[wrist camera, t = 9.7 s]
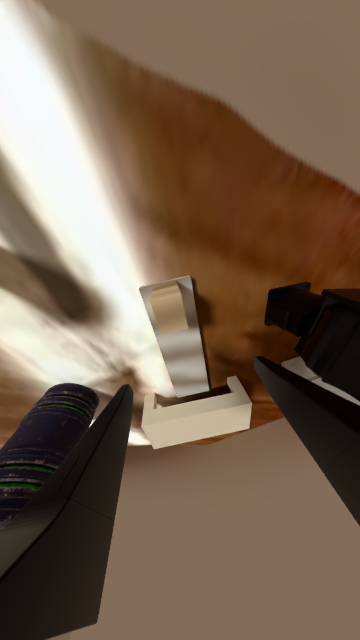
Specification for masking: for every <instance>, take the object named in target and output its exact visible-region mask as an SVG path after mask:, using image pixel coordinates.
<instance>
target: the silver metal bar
mask: <svg viewBox="0 0 360 640" xmlns="http://www.w3.org/2000/svg"><path fill="white" fill-rule="evenodd" d="M139 291H140V293H141V296H142V299H143V302H144V305H145V308H146V310H147V313H148V316H149V319H150V322H151V325H152V327H153V330H154V333H155V336H156V339H157V342H158V344H159V347H160V350H161V353H162V356H163V359H164V361H165V364H166V367H167V370H168V373H169V376H170V378H171V381H172V384H173V387H174V390H175V393H176V395H177V398H180V397H184V396H188V395H192V394H197V393H201V392H205V391H209V385H208V379H207V373H206V367H205V361H204V355H203V349H202V343H201V337H200V331H199V325H198V319H197V313H196V307H195V301H194V295H193V289H192V283H191V277H190V276H189V275H188V276H184V277H180V278H176V279H171V280H167V281H163V282H158V283H154V284H150V285H146V286H141V287H140V288H139Z"/></svg>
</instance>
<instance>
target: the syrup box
mask: <svg viewBox="0 0 360 640" xmlns="http://www.w3.org/2000/svg"><path fill="white" fill-rule="evenodd" d="M281 366H282V367H284V368H286V369H288V370H290V371H292V372H294V373H296V374H298V375H300V376H302V377H303V378H305V379H307V380H309V381H311V382H313V383H315V384H317V385H319V386H321V387H323V388H324V389H327V390H329V391H331V392H333V393H335V394H337V395H339V396H341V397H343V398H345V399H347V400H349V401H351V402H354V403H356V404H358V405H360V402H359V401H358V400H356V399H355V398H353V397H352V396H350V395H349V394H347V393H345V392H343V391H341V390H340V389H338V388H336V387H334V386H331V385H329V384H327V383H324V382H322V381H321V378H320V377H318V376H317V375H315V374H314V373H313V372H312V371H311V370H310V369H309V368H308V367H307V366H306V365H305V362H304V361H303V359H302V358H301V357H300V356H299V357H296V358H293V359H290V360H287V361H284V362H281Z"/></svg>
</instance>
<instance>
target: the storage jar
mask: <svg viewBox="0 0 360 640" xmlns="http://www.w3.org/2000/svg"><path fill="white" fill-rule="evenodd" d="M98 403H99V398H98V396H97V394H96V393H95V392H94V391H92V390H91V389H89V388H87V387H85V386H82V385H79V384H73V383H63V384H58V385H55V386H53V387H51V388H50V389H48V390H47V392H46V393H45V394H44V396H43V397H42V398H41V399H40V400H39V401H38V402H37V403H36V404H35V405H34V406H33V407H32V409H31V410H30V411H29V413H28V414H27V415H25V416H24V418H23V420H22V421H21V422H20V425H19V428H18V429H17V430H16V432H15V433H14V434H13V435H12V436H11V438H10V439H9V440H8V441H7V442H6V444H5V445H4V446H3V447H2V449H1V450H0V531H1V530H2V529H3V528H4V527H5V526H6V525H7V524H8V523H9V522H11V521H12V520H13V518H14V517H15V516H16V515H17V514H18V513H19V512H20V511H21V510H22V509H23V508H24V506H25V505H26V504H27V503H28V502H29V501H30V500H31V498H32V497H33V496H34V495H35V494H36V493H37V491H38V490H39V489H40V488H41V487H42V486H43V484H44V483H45V482H46V481H47V480H48V479H49V477H50V476H51V475H52V474H53V473H54V472H55V470H56V469H57V468H58V467H59V466H60V464H61V463H62V462H63V461H64V460H65V458H66V457H67V456H68V455H69V453H70V452H71V451H72V450H73V448H74V447H75V446H76V444H77V443H78V442H79V441H80V439H81V438H82V437H83V435H84V434H85V433H86V432H87V430H88V429H89V426H90V424H91V422H92V419H93V417H94V413H95V409H96V408H97V406H98Z"/></svg>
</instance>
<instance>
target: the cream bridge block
mask: <svg viewBox="0 0 360 640" xmlns="http://www.w3.org/2000/svg"><path fill="white" fill-rule="evenodd" d="M227 384H228V386H229V388H230V390H231V392H232V393H229V394H224V395H220V396H215V397H210V398H205V399H201V400H196V401H191V402H187V403H182V404H177V405H172V406H168V407H163V408H158V409H156V406H157V398H156V395H155V393H151V394H146V395H145V401H144V409H143V417H142V425H141V427H142V429H143V430H144V432H145V434H146V436H147V437H148V439H149V441H150V442H151V444H152V446H153V448H154V449H156V448H162V447H166V446H170V445H175V444H180V443H185V442H189V441H194V440H199V439H203V438H208V437H212V436H217V435H222V434H226V433H231V432H236V431H240V430H245V429H249V424H250V415H251V407H252V402H251V400H250V399H249V397H248V395H247V393H246V392H245V390H244V388H243V386H242V385H241V383H240V381H239V380H238V378H237V376H232V377H227Z"/></svg>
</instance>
